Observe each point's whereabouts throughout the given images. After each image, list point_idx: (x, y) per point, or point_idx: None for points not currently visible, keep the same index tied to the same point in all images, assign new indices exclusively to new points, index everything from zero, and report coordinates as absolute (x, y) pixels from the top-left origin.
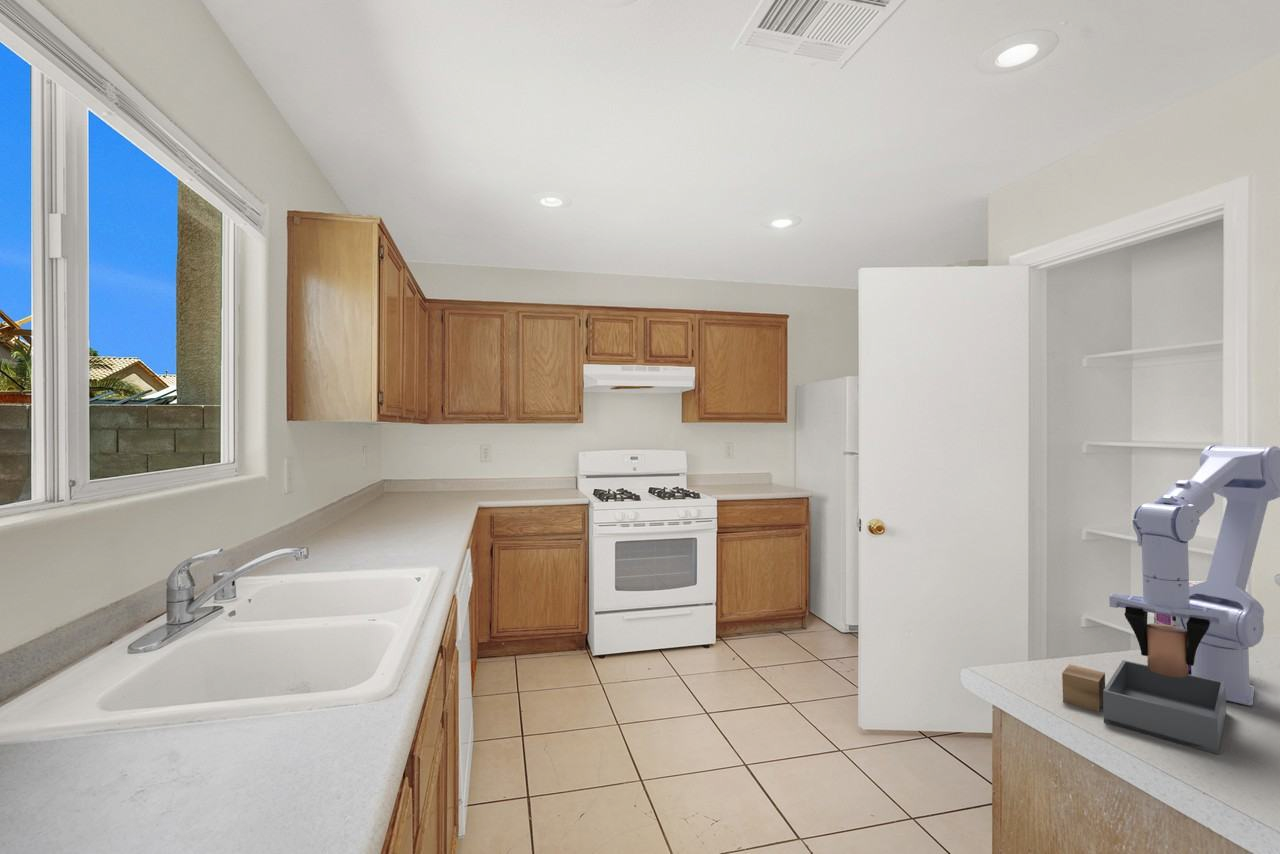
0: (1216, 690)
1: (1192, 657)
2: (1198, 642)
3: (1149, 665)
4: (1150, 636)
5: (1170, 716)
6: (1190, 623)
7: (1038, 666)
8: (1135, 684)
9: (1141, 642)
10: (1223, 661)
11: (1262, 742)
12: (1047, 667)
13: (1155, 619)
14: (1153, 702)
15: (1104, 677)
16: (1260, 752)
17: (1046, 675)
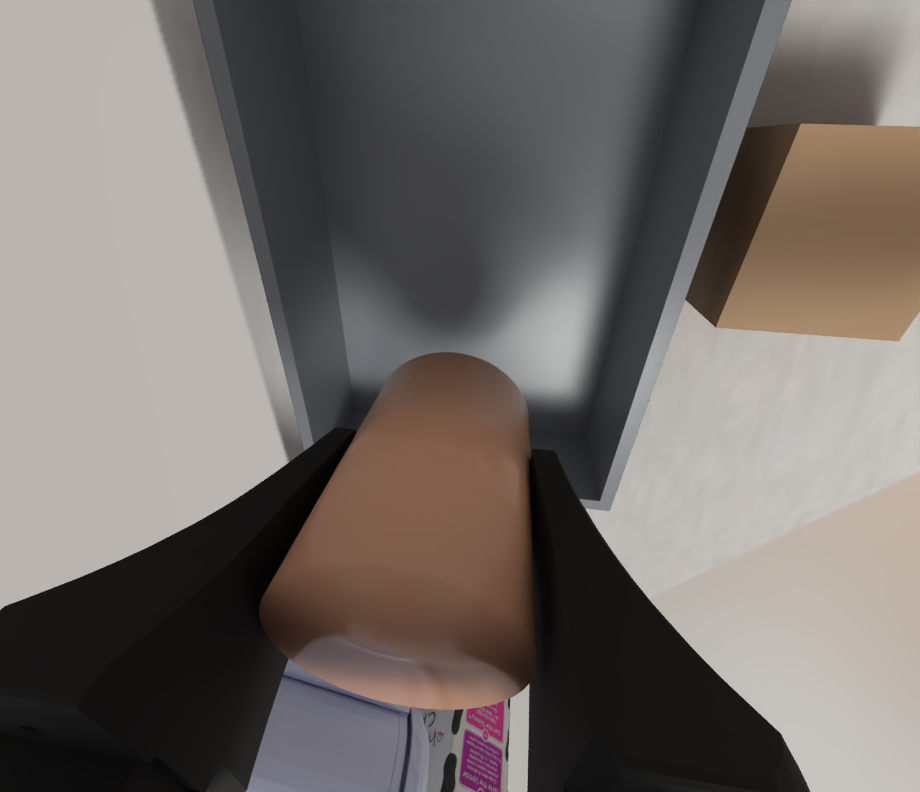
0: None
1: (307, 451)
2: (194, 524)
3: (520, 403)
4: (508, 540)
5: None
6: (65, 718)
7: (855, 470)
8: (560, 441)
9: (565, 504)
10: None
11: (240, 252)
12: (819, 476)
13: (505, 754)
14: None
15: (711, 305)
16: (215, 150)
17: (850, 405)
